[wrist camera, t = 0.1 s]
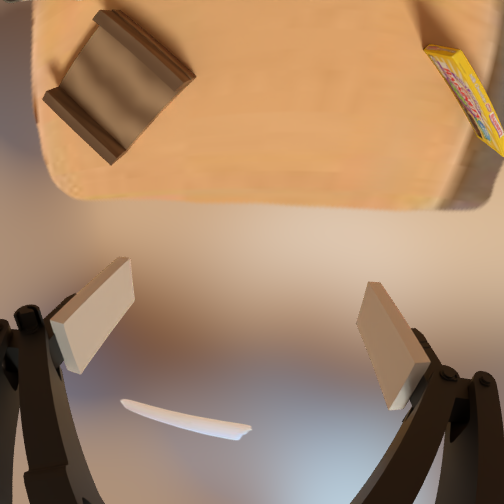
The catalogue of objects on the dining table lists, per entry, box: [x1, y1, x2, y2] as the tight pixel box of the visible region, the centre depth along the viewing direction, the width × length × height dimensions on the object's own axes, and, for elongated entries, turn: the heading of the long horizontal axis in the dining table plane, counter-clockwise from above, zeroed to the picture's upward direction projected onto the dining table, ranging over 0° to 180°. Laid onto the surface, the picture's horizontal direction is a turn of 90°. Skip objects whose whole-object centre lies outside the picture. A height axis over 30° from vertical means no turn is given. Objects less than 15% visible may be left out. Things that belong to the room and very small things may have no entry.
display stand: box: [42, 10, 196, 165], centre depth 30 cm, size 16×16×5 cm
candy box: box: [424, 44, 504, 157], centre depth 25 cm, size 16×2×8 cm, turn 50°
